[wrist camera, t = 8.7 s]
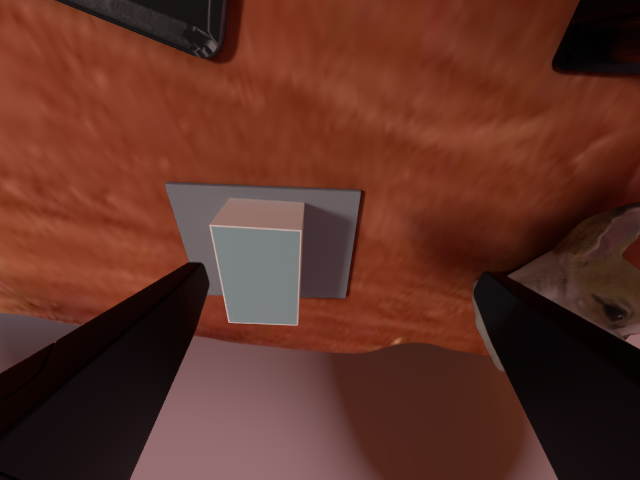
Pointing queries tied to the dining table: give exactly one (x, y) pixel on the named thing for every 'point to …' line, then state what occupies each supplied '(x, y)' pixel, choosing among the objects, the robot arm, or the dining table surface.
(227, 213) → the card box
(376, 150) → the dining table surface
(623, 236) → the ceramic sculpture
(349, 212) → the mat
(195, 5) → the phone
